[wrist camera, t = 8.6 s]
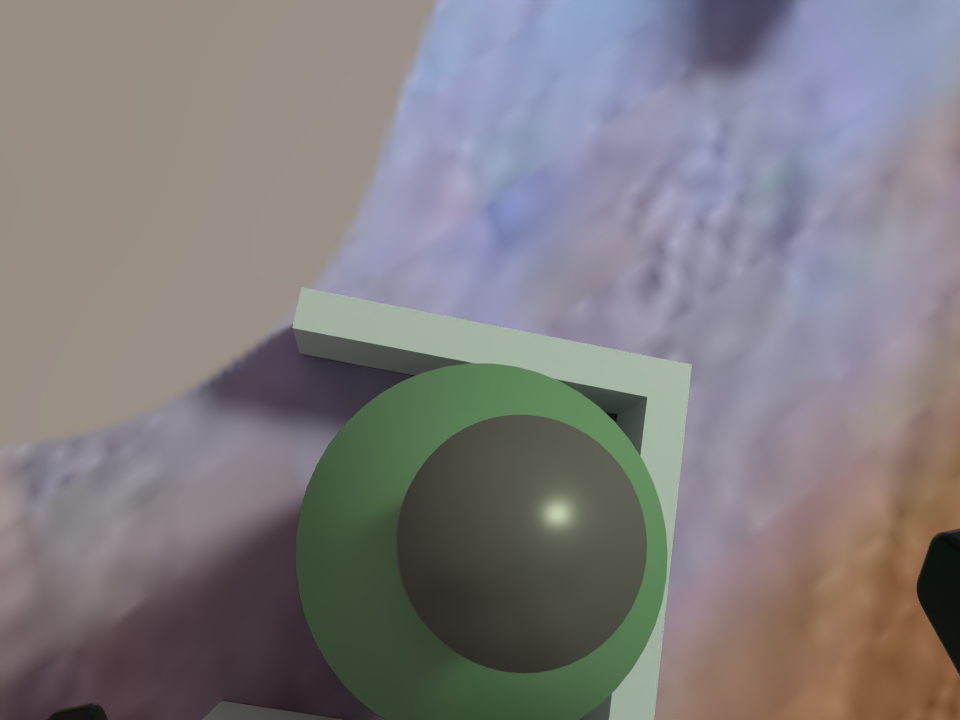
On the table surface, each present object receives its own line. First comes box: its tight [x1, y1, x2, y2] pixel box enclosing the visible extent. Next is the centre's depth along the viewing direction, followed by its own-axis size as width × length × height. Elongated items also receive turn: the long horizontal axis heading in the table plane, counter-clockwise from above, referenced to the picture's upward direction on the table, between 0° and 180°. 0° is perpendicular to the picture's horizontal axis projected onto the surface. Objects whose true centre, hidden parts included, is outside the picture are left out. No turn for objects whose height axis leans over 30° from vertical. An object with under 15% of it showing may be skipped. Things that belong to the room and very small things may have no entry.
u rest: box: [202, 288, 692, 720], centre depth 20 cm, size 10×10×2 cm
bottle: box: [295, 363, 668, 720], centre depth 16 cm, size 6×6×12 cm
